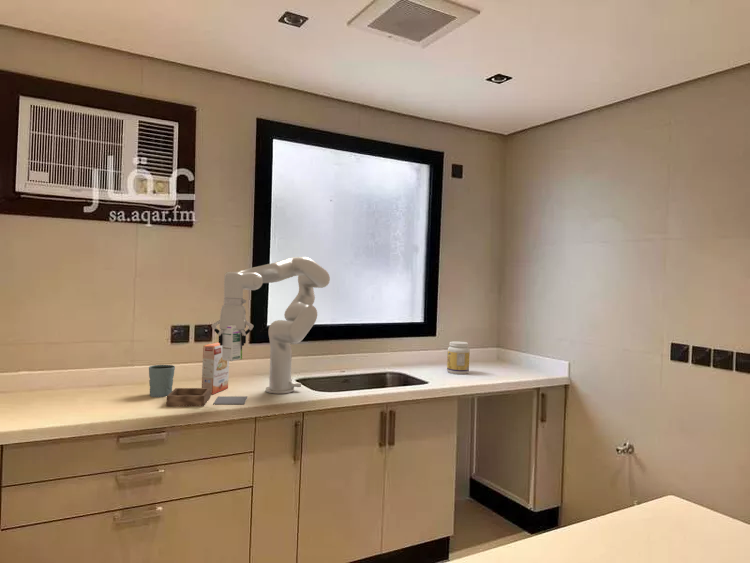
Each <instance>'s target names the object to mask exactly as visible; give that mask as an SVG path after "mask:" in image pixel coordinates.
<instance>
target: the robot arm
mask: <svg viewBox="0 0 750 563" xmlns="http://www.w3.org/2000/svg"><path fill="white" fill-rule="evenodd" d="M294 277H297V282H298V292H297V295H296V296H295V298H294V299H293V300H292V301H291V302H290V304H289V305H288V307H286V309H285V311H284V316H283V317H284V319H285V320H284V319H283V320H282V319H278V320H277V319H276V320H275V321H273V322H271V323H270V325H269V326H268V338H269V339H268V340H269V352H270V353H269V385H268V386H267V387H266V388H265V392H266V393H270V394H276V395H277V394H279V395H280V394H289V393H290V394H291V393H293V392H294V391H295V388H301V387H302V383H301V382H297V381H296V382H294V381H293V379H292V360H293V359H292V355H293V350H292V346H291V344H299V343H301V342H302V341H303V340H304V338H305V337H306V336H307V334H309V332H310V330H311V329H312V328H313V326H314V325H315V323H317V322H316V321H317V319H318V310H317V308H316V306H314V305H313V304H314V303H315V299H316V297H315V296H316V295H315V292H314V288H315V289H316V288H318V289H319V288H320V289H322V288H326V287H327V286H328V285H329V283H330V280H331V278H330V274H329V272H328V271H327V270H326V269H325V268H324V267H322V266H321V265H319V264H318V263H317V262H315V261H314V260H313V259H311V258H309V257H307V256H293V257H288V258H285V259H282V260H279V261H274V262H272V263H267V264H262V265H258V266H253V267H250V268H249V267H248V268H246V269H243V270H240V271H228V272H226V273H225V274H224V281H223V282H224V283H223V305H221V309H220V316H219V320H217V321H215V322H214V323H213V324H211V328H212V330H214V333H215V334H217V335H218V342H219V343H220V346H221V345H222V333H223V331H224V330H227V326H228V325H236V328H237V330H240V331H241V332H242V347H243V346H245V344H246V343H247V335H248V334H249V333H250V332H251V331H252V330H253V328H254V324H252V323H251V322H249V321H248V320H247V315H246V314H247V312H246V306H245V305H244V304H247V299H244V290H246V291H256V290H259V289H260V288H262V286H263V284H272V283H277V282H280V281H284V280H287V279H290V278H294ZM217 326H219V329H218V328H217ZM246 326H247V327H248V329H247V330H246Z"/></svg>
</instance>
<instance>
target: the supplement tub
mask: <svg viewBox="0 0 750 563" xmlns="http://www.w3.org/2000/svg"><path fill="white" fill-rule="evenodd" d="M448 345H449V346H448V347H447V361H446V372H448V374H453V375H466V374H469V371H470V353H471V352H470V351H471V350H470V348H469V343H468V342H467V341H459V340H457V341H456V340H455V341H454V340H453V341H449V344H448Z"/></svg>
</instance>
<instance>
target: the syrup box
mask: <svg viewBox="0 0 750 563" xmlns="http://www.w3.org/2000/svg"><path fill="white" fill-rule="evenodd" d="M242 336H243V334H242V332H241V331H240V330H237V328H236V325H228V326H227V330H224V331H223V333H222V360H226V361H229V362H234V361H239V360H240V361H241V360H243V346H242Z"/></svg>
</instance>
